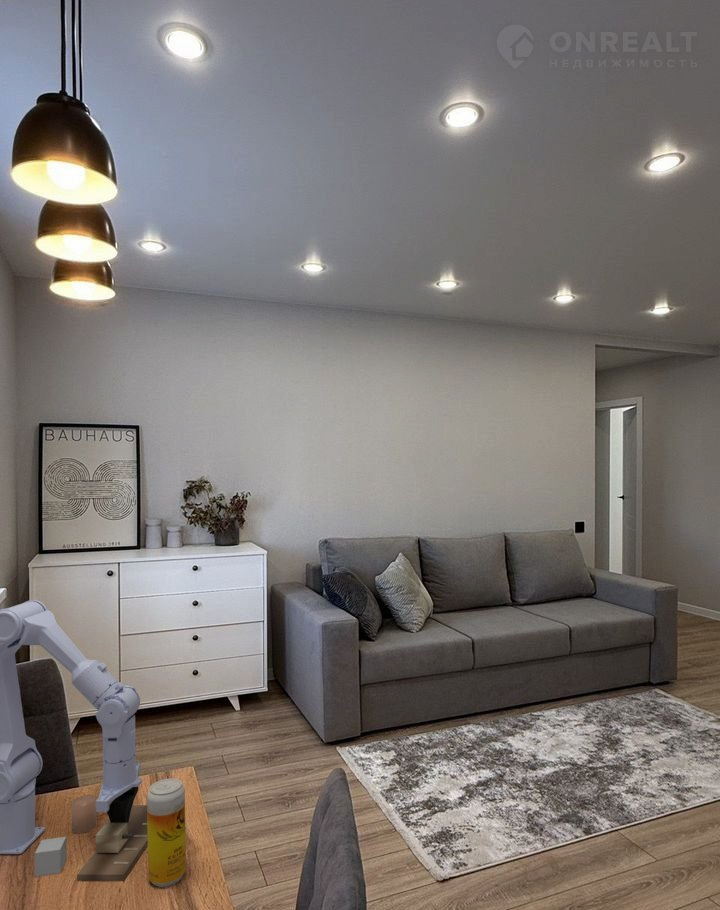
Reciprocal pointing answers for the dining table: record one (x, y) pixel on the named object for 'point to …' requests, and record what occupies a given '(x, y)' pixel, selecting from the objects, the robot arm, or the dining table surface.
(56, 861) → the grey cube
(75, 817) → the terracotta cylinder
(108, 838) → the birch slider
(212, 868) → the dining table surface
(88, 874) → the board
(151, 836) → the beer can
